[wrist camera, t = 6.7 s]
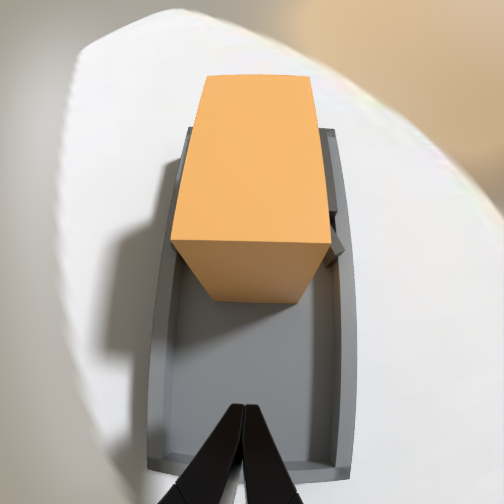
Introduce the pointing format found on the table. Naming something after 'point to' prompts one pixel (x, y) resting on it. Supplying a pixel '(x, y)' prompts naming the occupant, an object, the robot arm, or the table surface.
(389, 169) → the table surface
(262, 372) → the tray
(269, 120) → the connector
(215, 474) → the robot arm
